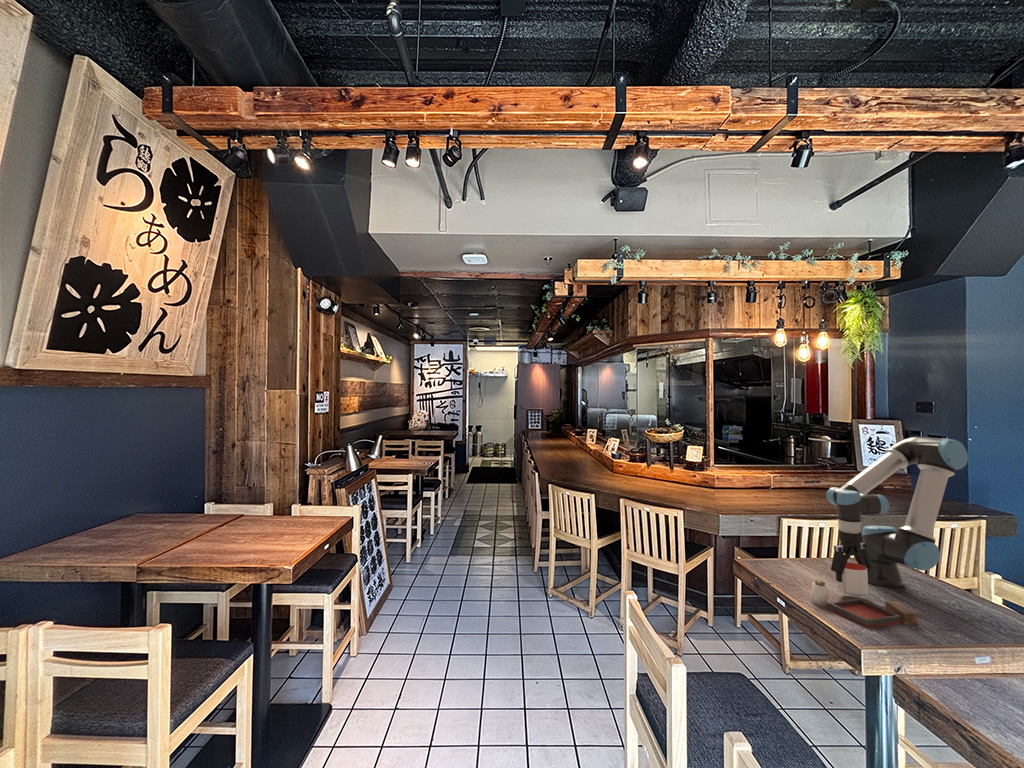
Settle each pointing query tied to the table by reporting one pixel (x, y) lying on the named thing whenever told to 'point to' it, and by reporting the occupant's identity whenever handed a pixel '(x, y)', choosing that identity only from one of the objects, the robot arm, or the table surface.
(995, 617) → the table surface
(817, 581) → the ceramic jar
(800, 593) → the table surface
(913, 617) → the box
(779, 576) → the table surface
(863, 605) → the tray
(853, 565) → the cup
